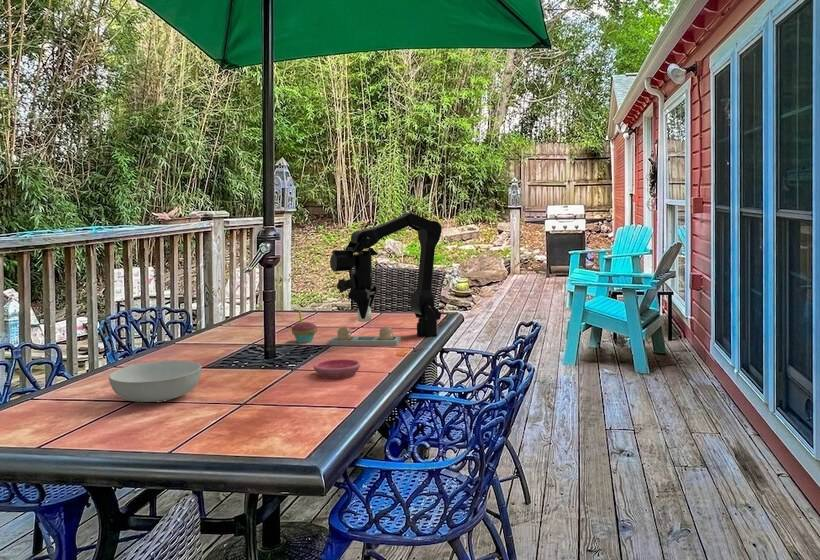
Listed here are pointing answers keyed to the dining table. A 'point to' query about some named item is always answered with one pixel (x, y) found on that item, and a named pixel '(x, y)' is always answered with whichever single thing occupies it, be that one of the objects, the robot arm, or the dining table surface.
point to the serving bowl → (155, 380)
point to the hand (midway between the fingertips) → (364, 317)
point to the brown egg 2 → (386, 333)
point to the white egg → (368, 316)
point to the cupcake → (304, 331)
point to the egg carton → (366, 341)
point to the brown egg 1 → (344, 333)
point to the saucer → (337, 368)
